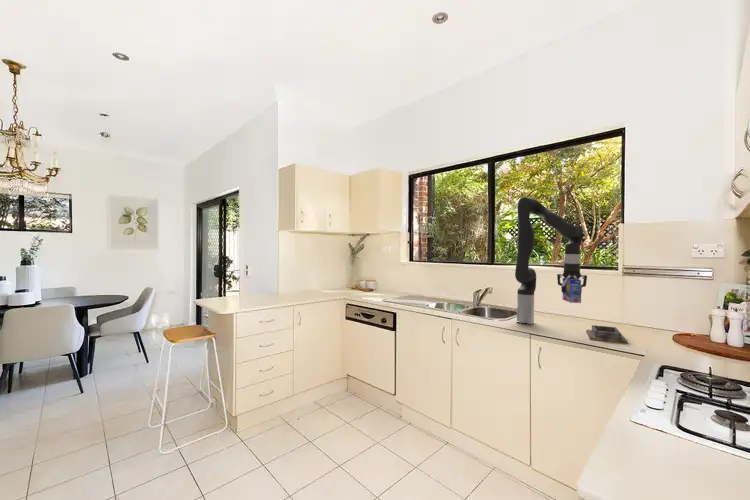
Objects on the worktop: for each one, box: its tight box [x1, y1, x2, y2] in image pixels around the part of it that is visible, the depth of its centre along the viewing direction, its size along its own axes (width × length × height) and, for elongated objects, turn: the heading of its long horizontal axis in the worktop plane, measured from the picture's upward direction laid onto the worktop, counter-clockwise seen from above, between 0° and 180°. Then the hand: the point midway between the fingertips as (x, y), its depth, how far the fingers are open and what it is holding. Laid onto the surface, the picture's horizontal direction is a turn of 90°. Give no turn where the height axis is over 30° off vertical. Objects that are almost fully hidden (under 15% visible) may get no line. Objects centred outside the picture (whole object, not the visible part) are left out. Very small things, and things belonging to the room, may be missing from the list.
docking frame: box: [585, 324, 629, 345], centre depth 170 cm, size 15×18×4 cm
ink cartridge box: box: [562, 274, 582, 304], centre depth 178 cm, size 10×6×14 cm, turn 174°
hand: (571, 293), depth 178 cm, fingers closed on ink cartridge box, 6 cm apart
